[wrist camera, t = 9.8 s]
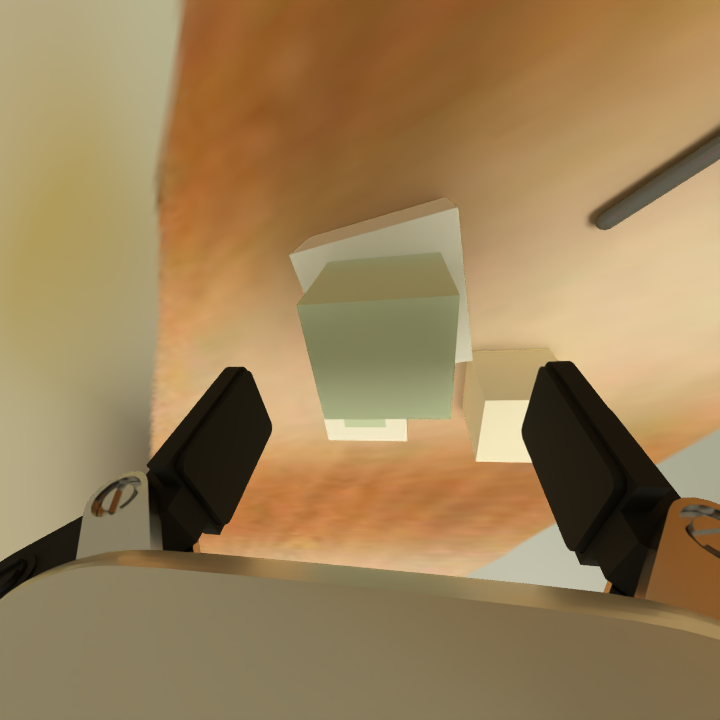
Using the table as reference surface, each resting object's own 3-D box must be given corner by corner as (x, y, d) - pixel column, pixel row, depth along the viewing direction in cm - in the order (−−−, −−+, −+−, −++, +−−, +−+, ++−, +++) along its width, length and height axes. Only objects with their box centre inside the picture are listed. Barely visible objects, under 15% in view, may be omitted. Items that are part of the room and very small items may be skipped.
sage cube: (327, 261, 16) (296, 305, 11) (440, 252, 15) (460, 295, 10) (343, 354, 20) (324, 419, 15) (436, 350, 19) (450, 419, 14)
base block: (311, 235, 20) (288, 254, 16) (444, 196, 18) (458, 207, 14) (349, 345, 25) (339, 382, 21) (459, 324, 23) (472, 360, 19)
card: (315, 374, 27) (314, 378, 26) (405, 373, 26) (405, 377, 25) (329, 436, 31) (328, 440, 31) (407, 437, 30) (407, 441, 29)
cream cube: (467, 350, 24) (485, 400, 19) (548, 347, 23) (589, 399, 18) (461, 406, 27) (475, 461, 22) (532, 405, 26) (563, 463, 21)
